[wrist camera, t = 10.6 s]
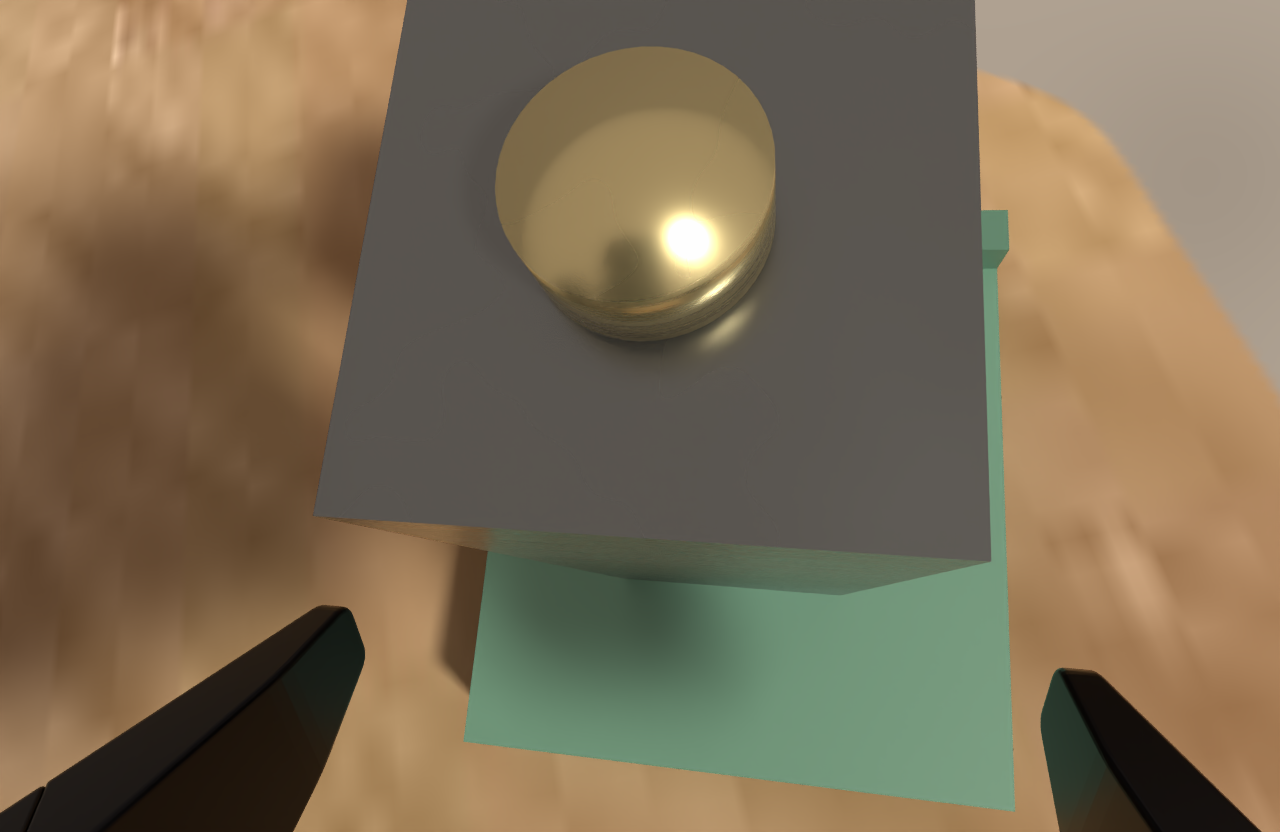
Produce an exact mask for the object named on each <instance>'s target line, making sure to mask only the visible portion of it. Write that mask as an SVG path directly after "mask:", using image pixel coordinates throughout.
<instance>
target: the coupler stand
mask: <svg viewBox="0 0 1280 832" xmlns="http://www.w3.org/2000/svg"><path fill="white" fill-rule="evenodd" d="M981 227H982V260H983V294H984V327H985V361H986V394H987V427H988V461H989V494H990V528H991V561H992V562H988V563H983V564H979V565H974V566H970V567H965V568H961V569H957V570H952V571H948V572H943V573H939V574H934V575H930V576H925V577H921V578H916V579H912V580H907V581H903V582H899V583H894V584H890V585H885V586H881V587H876V588H872V589H867V590H863V591H858V592H854V593H849V594H845V595H841V596H840V595H828V594H815V593H802V592H789V591H776V590H764V589H751V588H738V587H725V586H712V585H700V584H687V583H674V582H661V581H648V580H636V579H623V578H618V577H613V576H608V575H603V574H598V573H594V572H589V571H584V570H579V569H574V568H569V567H564V566H559V565H554V564H549V563H544V562H539V561H534V560H529V559H524V558H519V557H514V556H509V555H504V554H499V553H494V552H489V551H488V554H487V562H486V570H485V578H484V586H483V593H482V601H481V609H480V617H479V625H478V632H477V640H476V648H475V656H474V664H473V672H472V679H471V687H470V695H469V703H468V711H467V718H466V726H465V734H464V742H471V743H479V744H487V745H495V746H503V747H511V748H518V749H526V750H534V751H542V752H550V753H558V754H566V755H573V756H581V757H589V758H597V759H605V760H613V761H621V762H629V763H636V764H644V765H652V766H660V767H668V768H676V769H684V770H691V771H699V772H707V773H715V774H723V775H731V776H739V777H747V778H754V779H762V780H770V781H778V782H786V783H794V784H802V785H810V786H817V787H825V788H833V789H841V790H849V791H857V792H865V793H872V794H880V795H888V796H896V797H904V798H912V799H920V800H928V801H935V802H943V803H951V804H959V805H967V806H975V807H983V808H991V809H998V810H1006V811H1014V812H1015V798H1014V768H1013V738H1012V708H1011V677H1010V647H1009V617H1008V587H1007V557H1006V527H1005V497H1004V467H1003V437H1002V407H1001V376H1000V346H999V316H998V286H997V268H998V266H999V265H1000V263H1001V261H1002V260H1003V258H1004V257H1005V255H1006V254H1007V252H1008V251H1009V233H1008V210H983V211H981Z"/></svg>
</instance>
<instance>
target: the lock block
mask: <svg viewBox="0 0 1280 832" xmlns="http://www.w3.org/2000/svg"><path fill="white" fill-rule="evenodd" d="M313 516H316V517H321V518H326V519H330V520H335V521H340V522H345V523H350V524H355V525H360V526H365V527H370V528H375V529H380V530H385V531H390V532H395V533H400V534H405V535H410V536H415V537H420V538H425V539H430V540H435V541H440V542H445V543H450V544H455V545H460V546H464V547H469V548H474V549H479V550H484V551H489V552H494V553H499V554H504V555H509V556H514V557H519V558H524V559H529V560H534V561H539V562H544V563H549V564H554V565H559V566H564V567H569V568H574V569H579V570H584V571H589V572H594V573H598V574H603V575H608V576H613V577H618V578H623V579H636V580H648V581H661V582H674V583H687V584H700V585H712V586H725V587H738V588H751V589H764V590H776V591H789V592H802V593H815V594H828V595H840V596H841V595H845V594H849V593H854V592H858V591H863V590H867V589H872V588H876V587H881V586H885V585H890V584H894V583H899V582H903V581H907V580H912V579H916V578H921V577H925V576H930V575H934V574H939V573H943V572H948V571H952V570H957V569H961V568H965V567H970V566H974V565H979V564H983V563H988V562H992V561H991V528H990V494H989V461H988V427H987V394H986V361H985V327H984V294H983V260H982V227H981V194H980V160H979V127H978V93H977V61H976V27H975V0H407V5H406V11H405V16H404V22H403V27H402V33H401V38H400V44H399V49H398V55H397V60H396V66H395V71H394V76H393V82H392V87H391V93H390V98H389V104H388V109H387V115H386V120H385V126H384V131H383V137H382V142H381V147H380V153H379V158H378V164H377V169H376V175H375V180H374V186H373V191H372V197H371V202H370V207H369V213H368V218H367V224H366V229H365V235H364V240H363V246H362V251H361V257H360V262H359V268H358V273H357V278H356V284H355V289H354V295H353V300H352V306H351V311H350V317H349V322H348V328H347V333H346V339H345V344H344V349H343V355H342V360H341V366H340V371H339V377H338V382H337V388H336V393H335V399H334V404H333V410H332V415H331V420H330V426H329V431H328V437H327V442H326V448H325V453H324V459H323V464H322V470H321V475H320V480H319V486H318V491H317V497H316V502H315V508H314V513H313Z"/></svg>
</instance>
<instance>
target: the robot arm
mask: <svg viewBox="0 0 1280 832" xmlns="http://www.w3.org/2000/svg"><path fill="white" fill-rule="evenodd" d="M364 660H365V648H364V645H363V642H362V639H361V636H360V633H359V631H358V628H357V625H356V622H355V619H354V617H353V614H352V612H351V611H350V610H349V609H348V608H346V607H341V606H329V605H321V606H318V607H316V608H314V609H312V610H310V611H309V612H307V613H306V614H304V615H303V616H301V617H300V618H298V619H297V620H295V621H294V622H292V623H291V624H289V625H287V626H286V627H284V628H283V629H281V630H280V631H278V632H277V633H275V634H274V635H272V636H271V637H269V638H268V639H266V640H265V641H263V642H261V643H260V644H258V645H257V646H255V647H254V648H252V649H251V650H249V651H248V652H246V653H245V654H243V655H242V656H240V657H239V658H237V659H235V660H234V661H232V662H231V663H229V664H228V665H226V666H225V667H223V668H222V669H220V670H219V671H217V672H216V673H214V674H212V675H211V676H209V677H208V678H206V679H205V680H203V681H202V682H200V683H199V684H197V685H196V686H194V687H193V688H191V689H190V690H188V691H186V692H185V693H183V694H182V695H180V696H179V697H177V698H176V699H174V700H173V701H171V702H170V703H168V704H167V705H165V706H164V707H162V708H160V709H159V710H157V711H156V712H154V713H153V714H151V715H150V716H148V717H147V718H145V719H144V720H142V721H141V722H139V723H138V724H136V725H134V726H133V727H131V728H130V729H128V730H127V731H125V732H124V733H122V734H121V735H119V736H118V737H116V738H115V739H113V740H111V741H110V742H108V743H107V744H105V745H104V746H102V747H101V748H99V749H98V750H96V751H95V752H93V753H92V754H90V755H89V756H87V757H85V758H84V759H82V760H81V761H79V762H78V763H76V764H75V765H73V766H72V767H70V768H69V769H67V770H66V771H64V772H62V773H61V774H59V775H58V776H56V777H55V778H53V779H52V780H50V781H49V782H48V783H47V785H46V787H44V786H42V787H39V788H38V789H36V790H35V791H33V792H32V793H30V794H29V795H27V796H26V797H24V798H22V799H21V800H19V801H18V802H16V803H15V804H13V805H12V806H10V807H9V808H7V809H6V810H4V811H2V812H1V813H0V832H293V831H294V829H295V827H296V825H297V823H298V821H299V819H300V817H301V815H302V813H303V811H304V809H305V807H306V805H307V803H308V801H309V799H310V797H311V795H312V793H313V791H314V789H315V787H316V784H317V782H318V780H319V778H320V776H321V774H322V772H323V769H324V767H325V765H326V762H327V760H328V757H329V755H330V752H331V750H332V747H333V744H334V742H335V739H336V737H337V734H338V731H339V729H340V726H341V723H342V721H343V718H344V715H345V713H346V710H347V708H348V705H349V702H350V700H351V697H352V694H353V692H354V689H355V686H356V684H357V681H358V679H359V676H360V673H361V671H362V668H363V665H364ZM1041 734H1042V740H1043V745H1044V751H1045V756H1046V761H1047V766H1048V772H1049V777H1050V782H1051V788H1052V793H1053V798H1054V804H1055V809H1056V814H1057V819H1058V825H1059V830H1060V832H1261V831H1260V830H1259V829H1258V828H1257V827H1256V826H1255V825H1254V824H1253V823H1252V822H1251V821H1250V820H1249V819H1248V818H1247V817H1246V816H1245V815H1244V814H1243V813H1242V812H1241V811H1240V810H1239V809H1238V808H1237V807H1236V806H1235V805H1234V804H1233V803H1232V802H1231V801H1230V800H1229V799H1228V798H1227V797H1226V796H1225V795H1224V794H1222V793H1221V792H1220V791H1219V790H1218V789H1217V788H1216V787H1215V786H1214V785H1213V784H1212V783H1211V782H1210V781H1209V780H1208V779H1207V778H1206V777H1205V776H1204V775H1203V774H1202V773H1201V772H1200V771H1199V770H1198V769H1197V768H1196V767H1195V766H1194V765H1193V764H1192V763H1191V762H1190V761H1189V760H1188V759H1187V758H1186V757H1185V756H1184V755H1183V754H1181V753H1180V752H1179V751H1178V750H1177V749H1176V748H1175V747H1174V746H1173V745H1172V744H1171V743H1170V742H1169V741H1168V740H1167V739H1166V738H1165V737H1164V736H1163V735H1162V734H1161V733H1160V732H1159V731H1158V730H1157V729H1156V728H1155V727H1154V726H1153V725H1152V724H1151V723H1150V722H1149V721H1148V720H1147V719H1146V718H1145V717H1144V716H1143V715H1142V714H1141V713H1139V712H1138V711H1137V710H1136V709H1135V708H1134V707H1133V706H1132V705H1131V704H1130V703H1129V702H1128V701H1127V700H1126V699H1125V698H1124V697H1123V696H1122V695H1121V694H1120V693H1119V692H1118V691H1117V690H1116V689H1115V688H1114V687H1113V686H1112V685H1111V684H1110V683H1109V682H1108V681H1107V680H1106V679H1105V678H1104V677H1102V676H1101V675H1100V674H1098V673H1097V672H1095V671H1092V670H1084V669H1072V668H1059V669H1057V670H1056V671H1055V673H1054V674H1053V677H1052V680H1051V683H1050V687H1049V690H1048V693H1047V696H1046V700H1045V703H1044V706H1043V710H1042V713H1041Z"/></svg>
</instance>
